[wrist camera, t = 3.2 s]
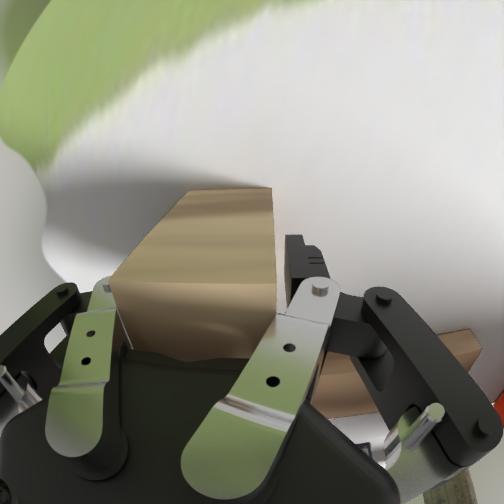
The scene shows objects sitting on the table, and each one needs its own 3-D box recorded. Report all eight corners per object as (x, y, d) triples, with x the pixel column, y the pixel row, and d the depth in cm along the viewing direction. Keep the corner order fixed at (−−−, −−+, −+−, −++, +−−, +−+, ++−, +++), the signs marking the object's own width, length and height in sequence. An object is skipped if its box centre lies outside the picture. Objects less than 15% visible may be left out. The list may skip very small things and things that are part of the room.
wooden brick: (188, 190, 13) (107, 280, 6) (271, 188, 13) (276, 283, 6) (212, 351, 18) (190, 456, 11) (271, 353, 18) (269, 462, 11)
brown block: (263, 348, 18) (262, 376, 16) (469, 328, 17) (482, 348, 15) (263, 396, 20) (263, 421, 18) (443, 375, 19) (452, 394, 17)
